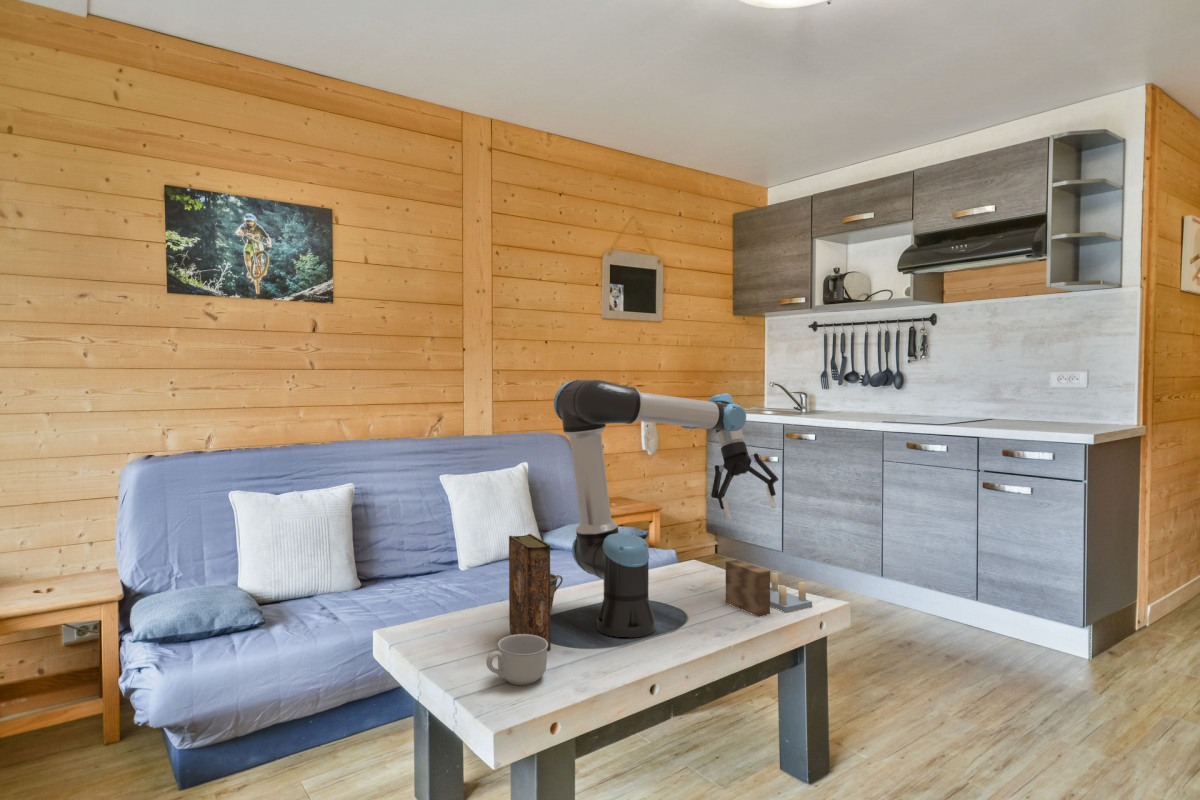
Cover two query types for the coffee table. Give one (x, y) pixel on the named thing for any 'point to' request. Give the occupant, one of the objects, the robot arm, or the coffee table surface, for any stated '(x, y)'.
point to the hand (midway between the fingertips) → (751, 513)
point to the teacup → (520, 658)
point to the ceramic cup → (553, 587)
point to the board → (748, 587)
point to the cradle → (787, 596)
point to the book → (529, 587)
